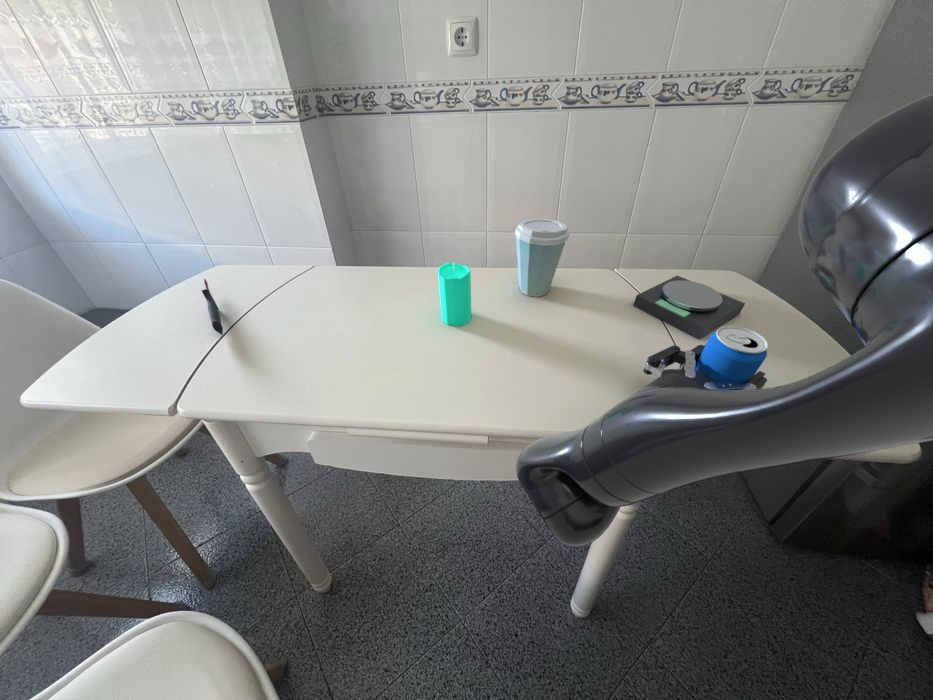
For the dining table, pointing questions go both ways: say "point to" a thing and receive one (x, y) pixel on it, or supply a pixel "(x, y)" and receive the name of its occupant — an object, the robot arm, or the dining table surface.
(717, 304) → the scale pan
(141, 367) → the dining table surface
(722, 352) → the beverage can
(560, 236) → the disposable coffee cup
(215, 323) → the knife
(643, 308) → the scale
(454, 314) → the candle
